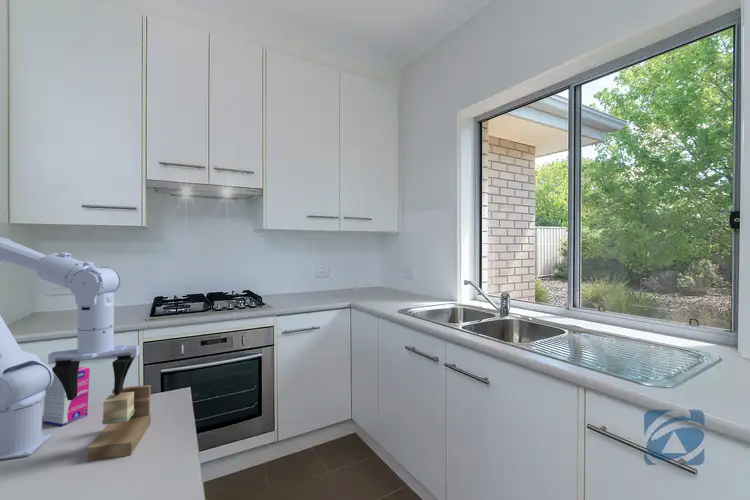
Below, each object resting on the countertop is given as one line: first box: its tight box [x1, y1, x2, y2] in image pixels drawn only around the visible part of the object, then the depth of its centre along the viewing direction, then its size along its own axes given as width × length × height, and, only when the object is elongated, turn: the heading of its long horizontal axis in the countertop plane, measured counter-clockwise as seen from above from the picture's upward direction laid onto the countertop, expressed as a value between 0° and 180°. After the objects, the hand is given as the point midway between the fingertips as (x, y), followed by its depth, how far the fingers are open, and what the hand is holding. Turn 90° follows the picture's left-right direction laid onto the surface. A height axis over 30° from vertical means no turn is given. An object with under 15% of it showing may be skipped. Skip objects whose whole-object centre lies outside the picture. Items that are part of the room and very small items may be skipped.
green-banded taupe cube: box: [101, 392, 134, 426], centre depth 71 cm, size 4×4×4 cm
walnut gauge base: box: [86, 384, 152, 462], centre depth 73 cm, size 7×13×9 cm, turn 19°
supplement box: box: [42, 366, 91, 427], centre depth 82 cm, size 6×6×12 cm
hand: (95, 395), depth 70 cm, fingers open, 7 cm apart
